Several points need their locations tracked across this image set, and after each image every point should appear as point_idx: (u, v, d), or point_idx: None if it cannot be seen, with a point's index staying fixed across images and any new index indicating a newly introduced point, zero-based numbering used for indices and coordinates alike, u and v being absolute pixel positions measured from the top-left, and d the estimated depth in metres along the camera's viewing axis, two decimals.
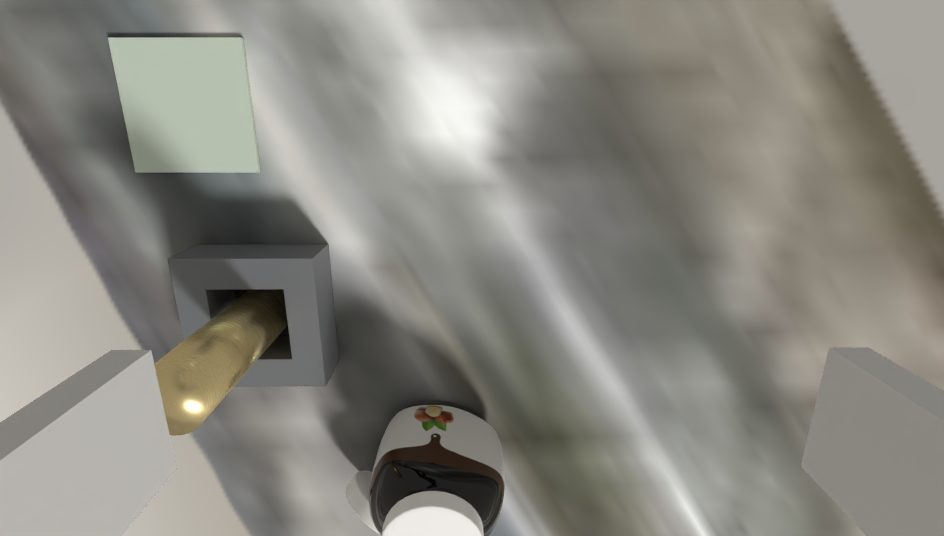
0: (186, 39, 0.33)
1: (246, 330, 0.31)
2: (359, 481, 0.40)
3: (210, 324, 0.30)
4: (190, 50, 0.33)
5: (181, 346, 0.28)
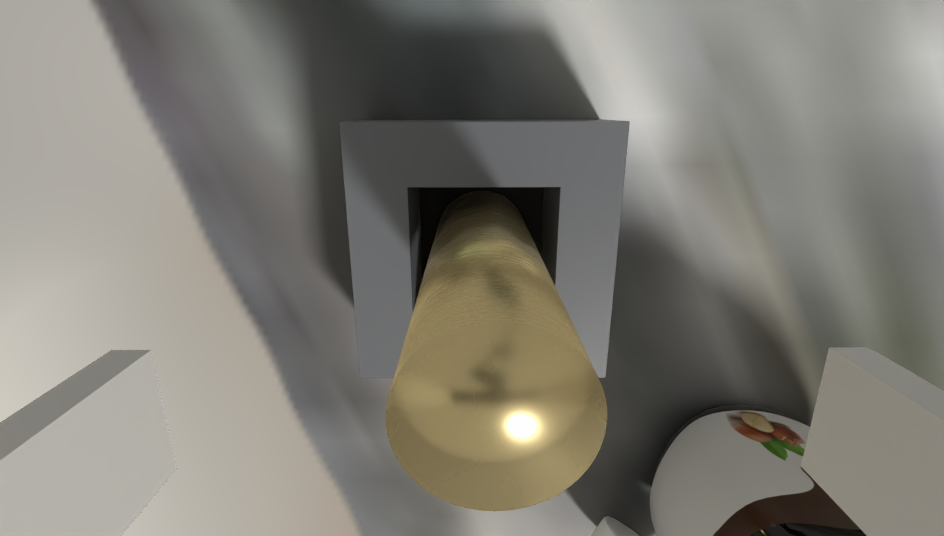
0: None
1: (538, 255, 0.14)
2: None
3: (475, 238, 0.14)
4: None
5: (470, 273, 0.11)
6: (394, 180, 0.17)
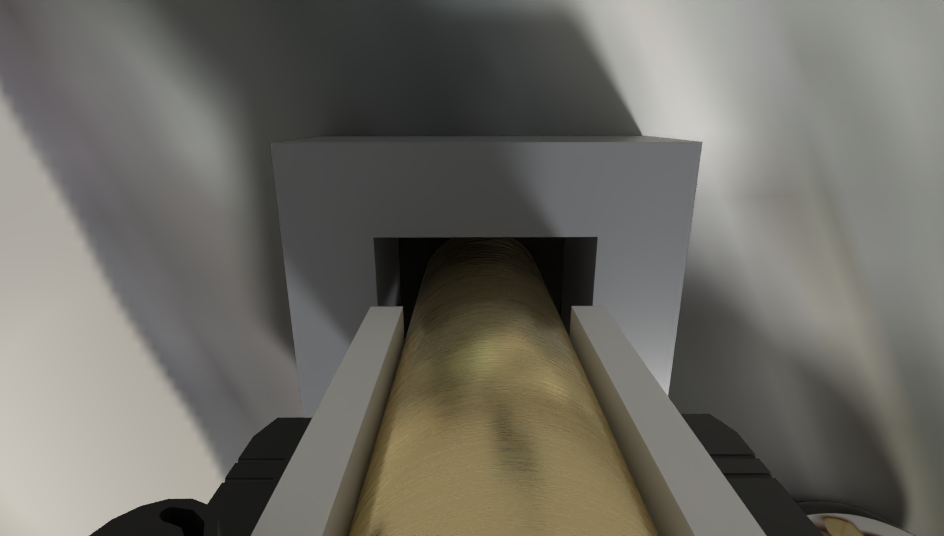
0: None
1: (576, 361, 0.09)
2: None
3: (473, 343, 0.08)
4: None
5: (463, 471, 0.05)
6: (354, 227, 0.12)
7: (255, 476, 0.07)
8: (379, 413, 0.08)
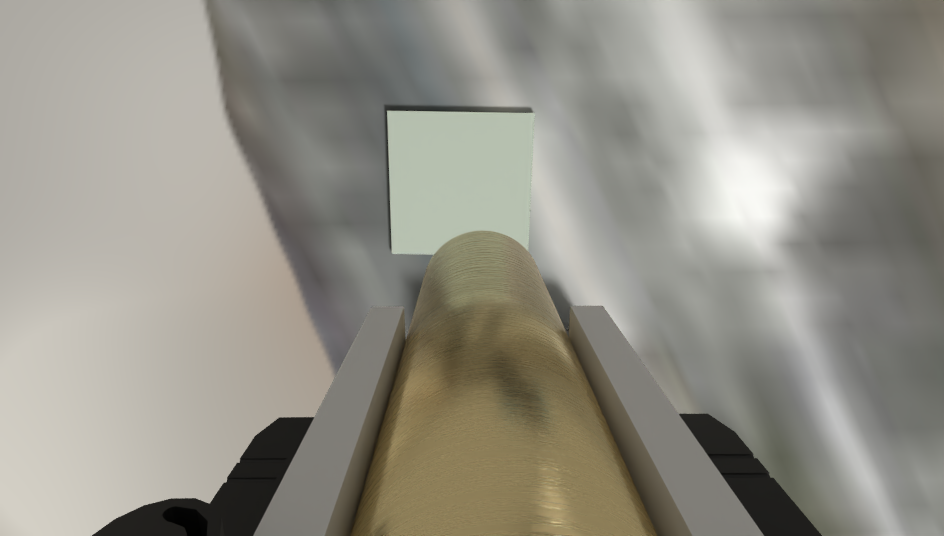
0: (473, 114, 0.30)
1: (575, 360, 0.09)
2: None
3: (473, 343, 0.08)
4: (476, 125, 0.30)
5: (464, 468, 0.05)
6: None
7: (257, 476, 0.07)
8: (381, 413, 0.08)
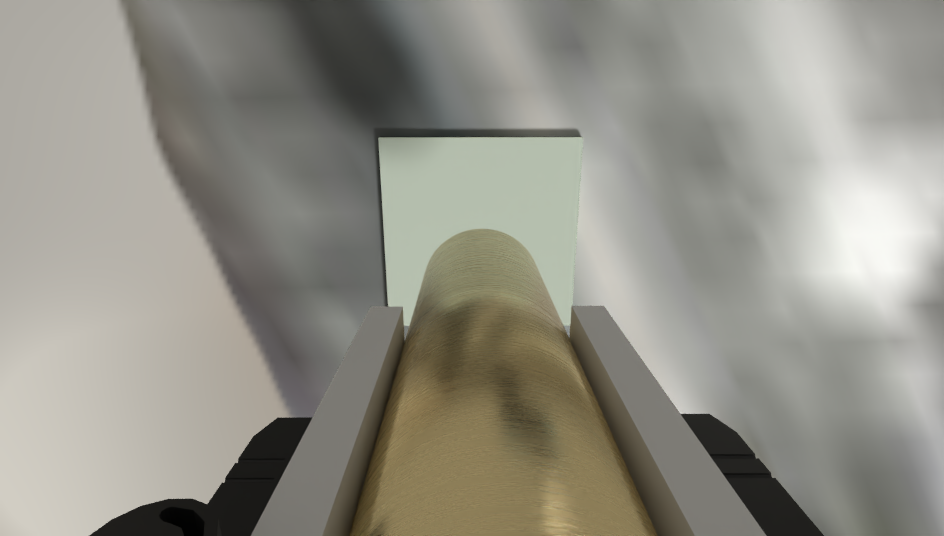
0: (498, 140, 0.21)
1: (572, 355, 0.09)
2: None
3: (473, 337, 0.08)
4: (502, 155, 0.22)
5: (464, 454, 0.05)
6: None
7: (255, 476, 0.07)
8: (379, 413, 0.08)
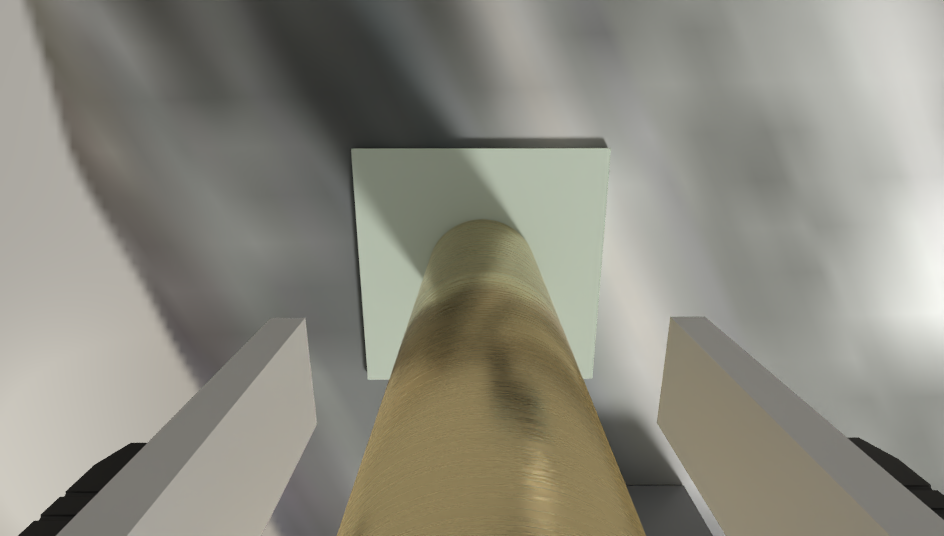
0: (503, 152, 0.17)
1: (556, 324, 0.10)
2: None
3: (468, 305, 0.10)
4: (508, 171, 0.17)
5: (456, 387, 0.07)
6: None
7: (75, 512, 0.06)
8: (243, 437, 0.08)
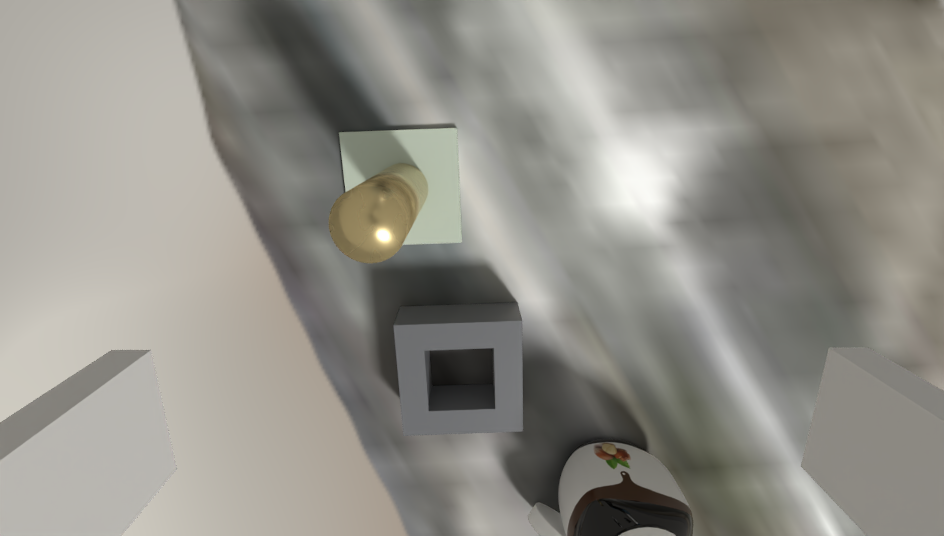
0: (408, 131, 0.37)
1: (410, 184, 0.31)
2: (543, 514, 0.44)
3: (377, 175, 0.30)
4: (410, 140, 0.37)
5: (365, 181, 0.27)
6: (418, 347, 0.38)
7: None
8: (2, 512, 0.06)
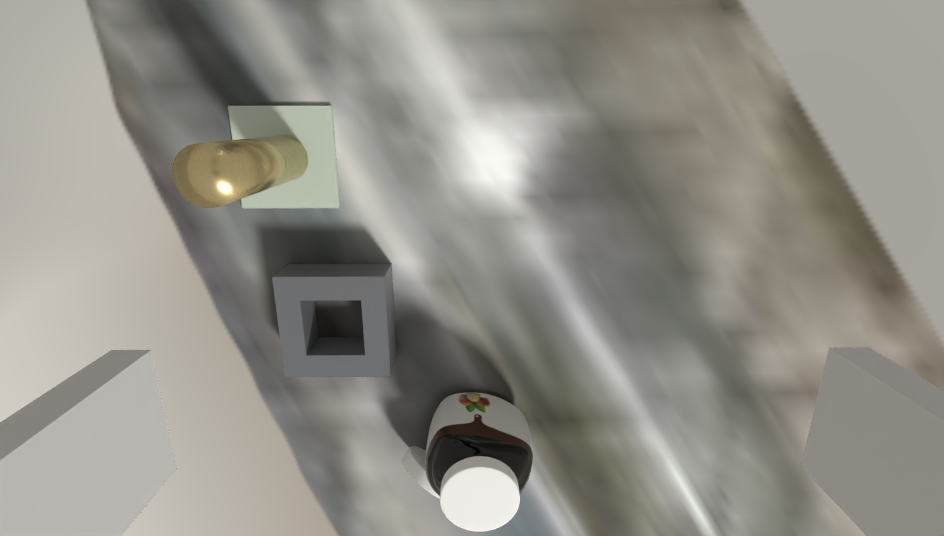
0: (288, 107, 0.42)
1: (267, 148, 0.36)
2: (413, 453, 0.49)
3: None
4: (291, 115, 0.43)
5: None
6: (294, 297, 0.44)
7: None
8: (3, 512, 0.06)
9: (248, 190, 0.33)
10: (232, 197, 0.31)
